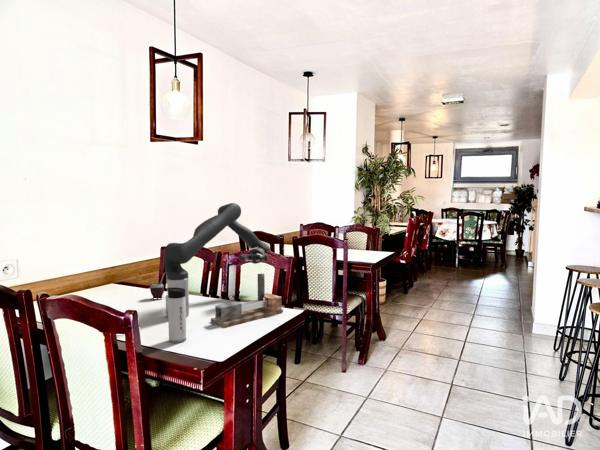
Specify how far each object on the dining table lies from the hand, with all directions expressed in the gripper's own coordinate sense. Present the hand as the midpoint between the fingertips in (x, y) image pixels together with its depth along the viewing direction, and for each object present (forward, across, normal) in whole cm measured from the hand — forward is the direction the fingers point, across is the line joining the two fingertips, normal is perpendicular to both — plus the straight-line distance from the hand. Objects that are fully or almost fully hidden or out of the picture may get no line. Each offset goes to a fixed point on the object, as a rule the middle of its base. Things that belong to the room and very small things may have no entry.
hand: (251, 259), depth 198 cm
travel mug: (+49, -20, +25) cm, 58 cm away
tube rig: (+18, +1, +24) cm, 30 cm away
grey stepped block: (+16, +3, +20) cm, 26 cm away
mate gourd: (-15, -53, +24) cm, 60 cm away
